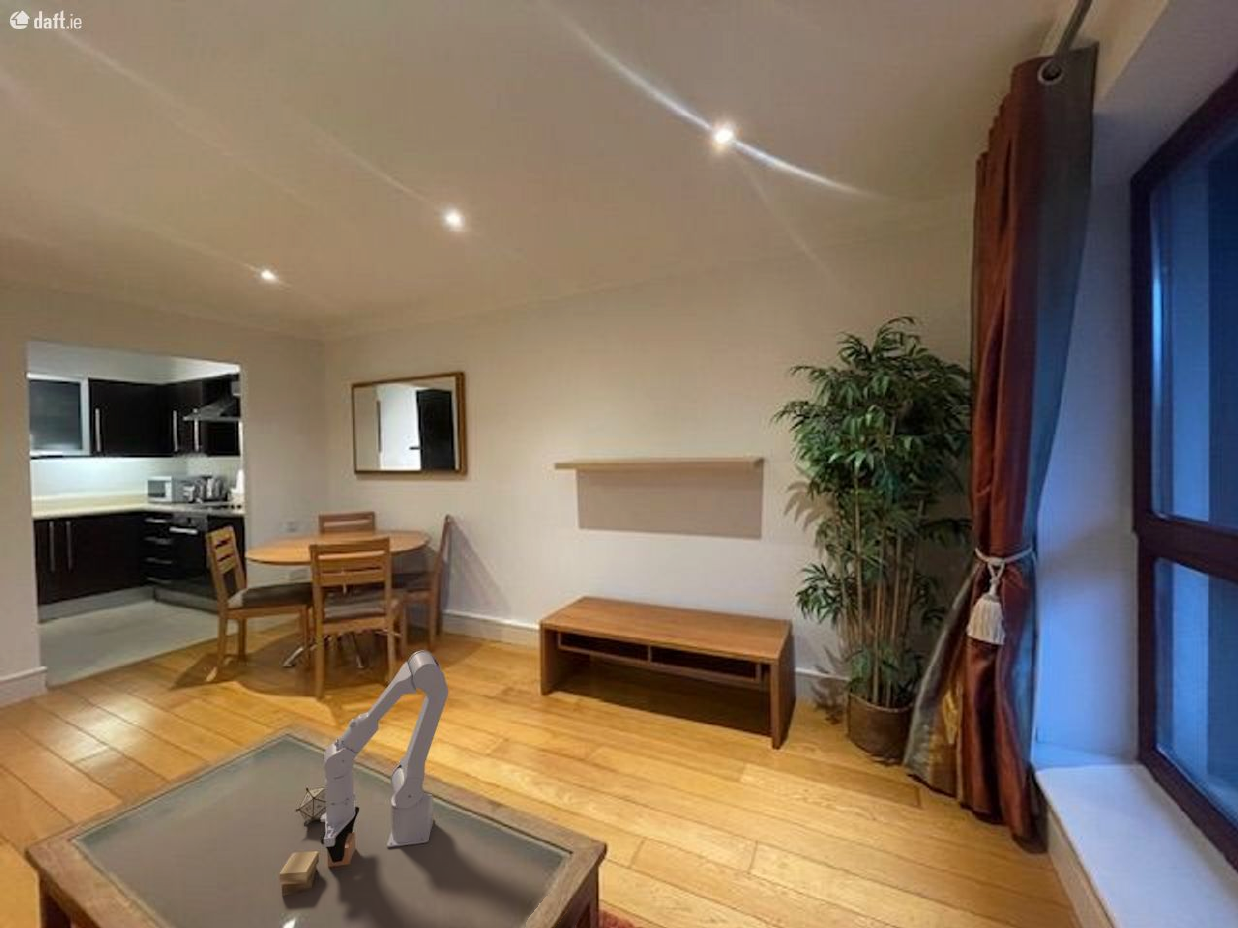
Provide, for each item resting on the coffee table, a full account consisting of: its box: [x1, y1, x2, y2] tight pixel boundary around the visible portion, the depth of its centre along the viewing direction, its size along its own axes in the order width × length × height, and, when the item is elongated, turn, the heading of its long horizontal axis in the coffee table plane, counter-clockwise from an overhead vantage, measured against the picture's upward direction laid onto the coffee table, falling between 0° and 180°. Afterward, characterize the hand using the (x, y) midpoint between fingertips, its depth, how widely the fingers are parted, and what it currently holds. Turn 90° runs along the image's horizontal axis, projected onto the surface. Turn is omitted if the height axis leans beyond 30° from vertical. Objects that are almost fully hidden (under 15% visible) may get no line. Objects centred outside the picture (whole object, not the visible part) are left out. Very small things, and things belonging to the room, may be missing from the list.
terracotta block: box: [326, 832, 356, 868], centre depth 121 cm, size 4×4×4 cm
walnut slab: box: [281, 866, 317, 897], centre depth 114 cm, size 6×6×2 cm
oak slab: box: [278, 851, 320, 886], centre depth 114 cm, size 6×6×2 cm
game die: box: [294, 786, 326, 826], centre depth 132 cm, size 9×8×10 cm
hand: (341, 851), depth 121 cm, fingers closed on terracotta block, 4 cm apart
